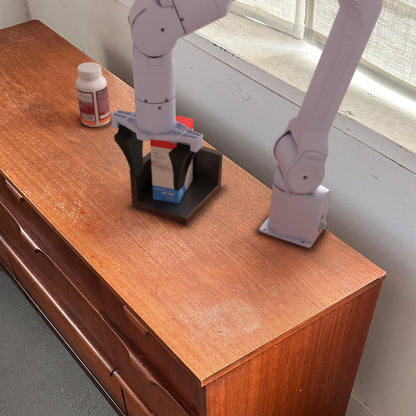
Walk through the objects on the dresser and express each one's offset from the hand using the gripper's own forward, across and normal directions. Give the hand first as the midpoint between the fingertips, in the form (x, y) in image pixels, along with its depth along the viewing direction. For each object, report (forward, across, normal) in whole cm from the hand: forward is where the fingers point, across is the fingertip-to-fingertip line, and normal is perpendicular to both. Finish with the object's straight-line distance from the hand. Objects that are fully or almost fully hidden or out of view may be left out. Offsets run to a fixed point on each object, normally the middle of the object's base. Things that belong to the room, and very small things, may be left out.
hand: (158, 180), depth 98 cm
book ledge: (+10, -3, +11) cm, 15 cm away
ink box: (+9, -4, +11) cm, 15 cm away
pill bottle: (+11, -32, +27) cm, 43 cm away
